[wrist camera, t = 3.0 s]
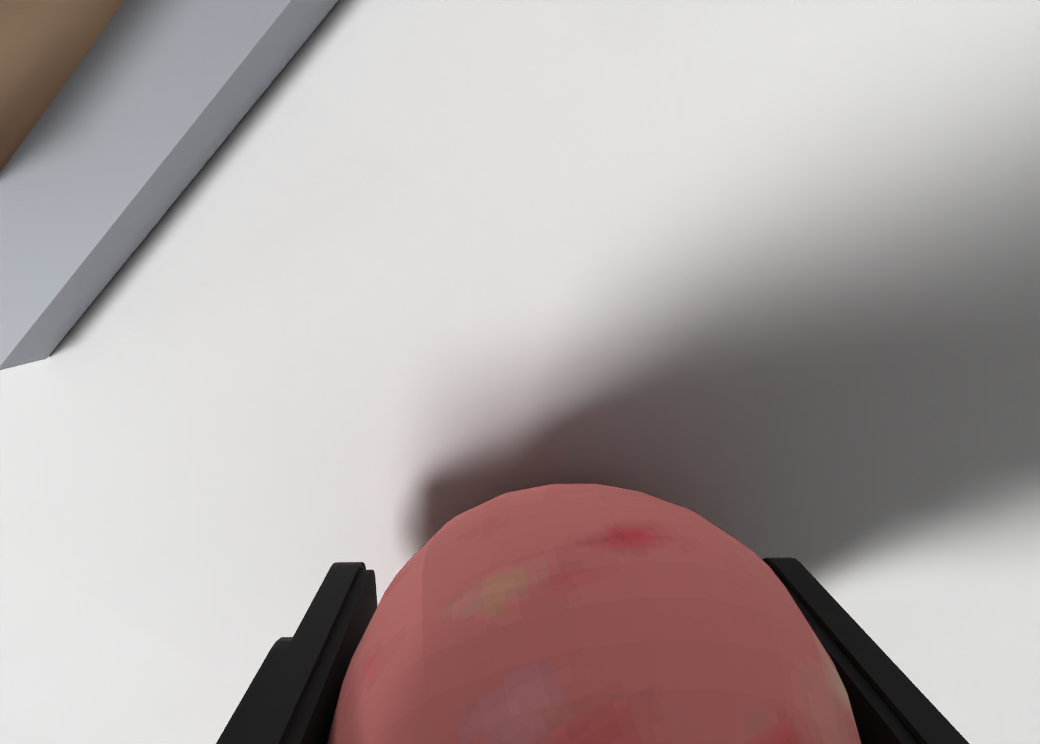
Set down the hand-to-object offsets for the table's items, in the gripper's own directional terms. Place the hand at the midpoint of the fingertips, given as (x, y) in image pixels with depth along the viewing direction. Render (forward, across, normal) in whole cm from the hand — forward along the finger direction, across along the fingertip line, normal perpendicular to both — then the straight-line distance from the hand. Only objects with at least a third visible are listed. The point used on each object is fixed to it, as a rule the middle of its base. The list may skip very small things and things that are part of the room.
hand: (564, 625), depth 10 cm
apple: (+2, 0, 0) cm, 2 cm away
